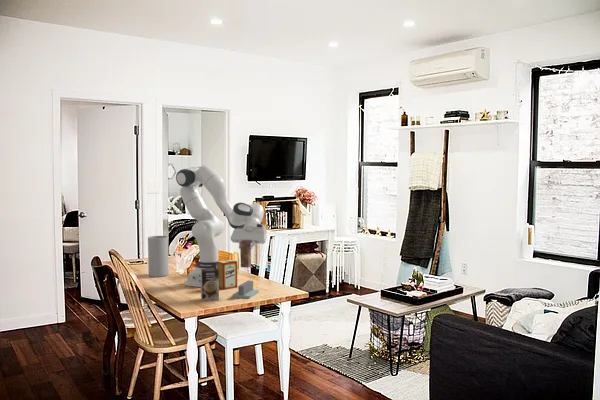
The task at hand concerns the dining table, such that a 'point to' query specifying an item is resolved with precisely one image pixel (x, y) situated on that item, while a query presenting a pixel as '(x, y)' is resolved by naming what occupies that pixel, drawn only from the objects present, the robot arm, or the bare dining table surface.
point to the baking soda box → (227, 274)
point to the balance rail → (245, 290)
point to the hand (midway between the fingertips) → (245, 248)
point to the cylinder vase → (158, 256)
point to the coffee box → (209, 284)
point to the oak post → (245, 254)
